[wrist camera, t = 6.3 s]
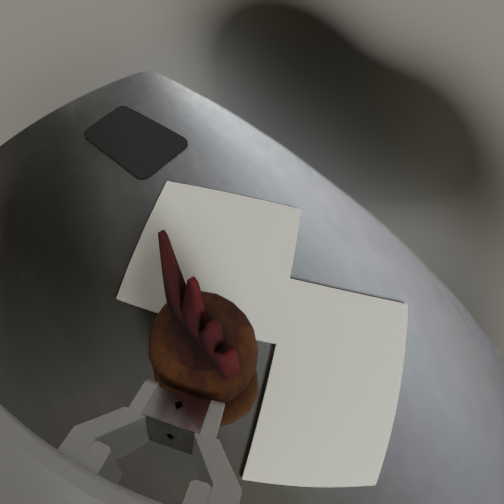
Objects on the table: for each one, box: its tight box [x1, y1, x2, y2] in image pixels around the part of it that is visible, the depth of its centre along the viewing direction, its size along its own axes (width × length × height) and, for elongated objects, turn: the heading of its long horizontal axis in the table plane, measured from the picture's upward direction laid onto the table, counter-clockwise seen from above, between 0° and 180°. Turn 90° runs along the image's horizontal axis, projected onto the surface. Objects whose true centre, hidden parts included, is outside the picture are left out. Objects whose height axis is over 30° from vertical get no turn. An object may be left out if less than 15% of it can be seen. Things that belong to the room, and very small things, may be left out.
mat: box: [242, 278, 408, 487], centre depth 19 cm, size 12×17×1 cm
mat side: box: [116, 181, 302, 344], centre depth 23 cm, size 14×12×1 cm
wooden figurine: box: [149, 230, 258, 426], centre depth 13 cm, size 7×6×15 cm
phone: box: [84, 106, 188, 180], centre depth 29 cm, size 7×1×15 cm
